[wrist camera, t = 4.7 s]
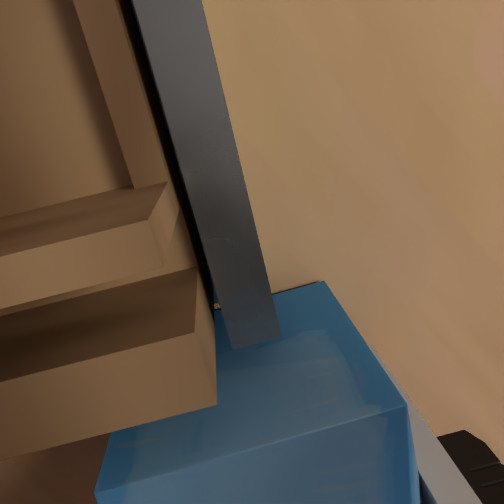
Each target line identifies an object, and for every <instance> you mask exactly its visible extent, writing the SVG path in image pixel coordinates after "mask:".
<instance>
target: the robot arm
mask: <svg viewBox="0 0 504 504" xmlns="http://www.w3.org/2000/svg"><path fill="white" fill-rule="evenodd" d="M368 347H369V348H370V350H371V351H372V353H373V354H374V356H375V357H376V359H377V360H378V362H379V363H380V365H381V366H382V367H383V369H384V370H385V372H386V373H387V375H388V376H389V378H390V379H391V381H392V382H393V384H394V385H395V387H396V388H397V390H398V391H399V393H400V394H401V396H402V397H403V399H404V400H405V402H406V403H407V405H408V411H409V418H410V424H411V430H412V437H413V443H414V449H415V456H416V462H417V468H418V474H419V481H420V487H421V493H422V500H423V504H504V465H503V464H501V463H500V460H499V459H498V458H497V457H496V456H495V454H494V453H493V452H492V451H491V449H490V448H489V447H488V446H487V445H486V443H485V442H483V441H481V440H480V439H478V438H477V437H475V436H474V435H472V434H470V433H469V432H467V431H466V430H461V431H458V432H454V433H450V434H446V435H443V436H439V437H436V436H435V435H434V433H433V432H432V430H431V429H430V427H429V426H428V425H427V423H426V422H425V420H424V419H423V417H422V416H421V414H420V413H419V412H418V410H417V409H416V407H415V406H414V404H413V403H412V401H411V400H410V399H409V397H408V396H407V394H406V393H405V391H404V390H403V388H402V387H401V386H400V384H399V383H398V381H397V380H396V378H395V377H394V376H393V374H392V373H391V371H390V370H389V368H388V367H387V365H386V364H385V363H384V361H383V360H382V358H381V357H380V355H379V354H378V352H377V351H376V350H375V348H374V347H373V345H369V346H368Z"/></svg>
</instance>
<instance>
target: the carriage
mask: <svg viewBox="0 0 504 504" xmlns="http://www.w3.org/2000/svg"><path fill="white" fill-rule="evenodd" d="M214 405H217V383H216V353H215V322H214V291H213V286H212V282H211V279H210V275H209V272H208V268H207V265H206V261H205V258H204V254H203V251H202V247H201V244H200V240H199V237H198V234H197V230H196V227H195V223H194V220H193V216H192V213H191V209H190V206H189V202H188V199H187V195H186V192H185V188H184V185H183V181H182V178H181V174H180V171H179V167H178V164H177V160H176V157H175V153H174V150H173V147H172V143H171V140H170V136H169V133H168V129H167V126H166V122H165V119H164V115H163V112H162V108H161V105H160V101H159V98H158V94H157V91H156V87H155V84H154V80H153V77H152V73H151V70H150V66H149V63H148V60H147V56H146V53H145V49H144V46H143V42H142V39H141V35H140V32H139V28H138V25H137V21H136V18H135V14H134V11H133V7H132V4H131V0H0V461H2V460H6V459H10V458H13V457H17V456H21V455H25V454H29V453H33V452H37V451H40V450H44V449H48V448H52V447H56V446H60V445H64V444H67V443H71V442H75V441H79V440H83V439H87V438H91V437H94V436H98V435H102V434H106V433H110V432H114V431H118V430H122V429H125V428H129V427H133V426H137V425H141V424H145V423H149V422H152V421H156V420H160V419H164V418H168V417H172V416H176V415H179V414H183V413H187V412H191V411H195V410H199V409H203V408H206V407H210V406H214Z"/></svg>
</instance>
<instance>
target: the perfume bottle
mask: <svg viewBox="0 0 504 504" xmlns="http://www.w3.org/2000/svg"><path fill="white" fill-rule="evenodd" d="M272 298H273V302H274V306H275V310H276V315H277V319H278V323H279V327H280V331H281V336H282V337H281V338H277V339H273V340H269V341H265V342H261V343H258V344H254V345H250V346H246V347H242V348H238V349H234V350H233V349H232V346H231V342H230V339H229V335H228V332H227V328H226V325H225V321H224V318H223V314H222V311H221V309H220V310H216V311H214V322H215V353H216V383H217V405H214V406H210V407H206V408H203V409H199V410H195V411H191V412H187V413H183V414H179V415H176V416H172V417H168V418H164V419H160V420H156V421H152V422H149V423H145V424H141V425H137V426H133V427H129V428H125V429H122V430H118V431H114V432H111V435H110V438H109V442H108V445H107V449H106V452H105V455H104V459H103V462H102V466H101V469H100V473H99V476H98V480H97V483H96V487H95V490H94V495H95V498H96V501H97V504H423V500H422V493H421V487H420V481H419V474H418V468H417V462H416V456H415V449H414V443H413V437H412V430H411V424H410V418H409V411H408V405H407V403H406V402H405V400H404V399H403V397H402V396H401V394H400V393H399V391H398V390H397V388H396V387H395V385H394V384H393V382H392V381H391V379H390V378H389V376H388V375H387V373H386V372H385V370H384V369H383V367H382V366H381V365H380V363H379V362H378V360H377V359H376V357H375V356H374V354H373V353H372V351H371V350H370V348H369V347H368V345H367V344H366V342H365V341H364V339H363V338H362V336H361V335H360V333H359V332H358V330H357V329H356V327H355V326H354V324H353V323H352V321H351V320H350V319H349V317H348V316H347V314H346V313H345V311H344V310H343V308H342V307H341V305H340V304H339V302H338V301H337V299H336V298H335V296H334V295H333V293H332V292H331V290H330V289H329V287H328V286H327V284H326V283H325V281H321V282H317V283H314V284H310V285H306V286H303V287H299V288H296V289H292V290H288V291H285V292H281V293H278V294H274V295H272Z"/></svg>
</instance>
